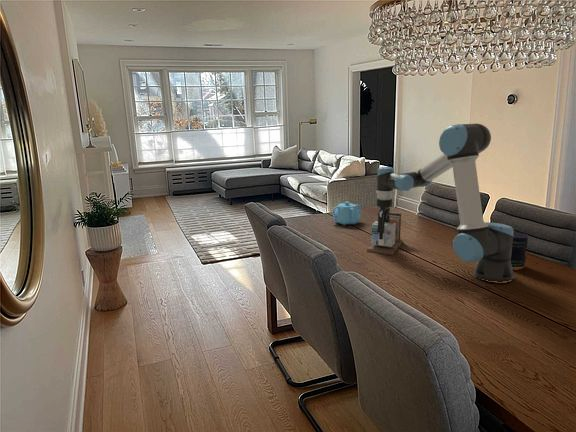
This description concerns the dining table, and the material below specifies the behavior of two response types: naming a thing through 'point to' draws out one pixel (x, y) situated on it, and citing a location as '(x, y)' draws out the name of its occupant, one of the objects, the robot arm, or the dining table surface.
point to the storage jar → (519, 249)
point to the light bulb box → (388, 234)
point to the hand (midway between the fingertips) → (383, 243)
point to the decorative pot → (346, 213)
